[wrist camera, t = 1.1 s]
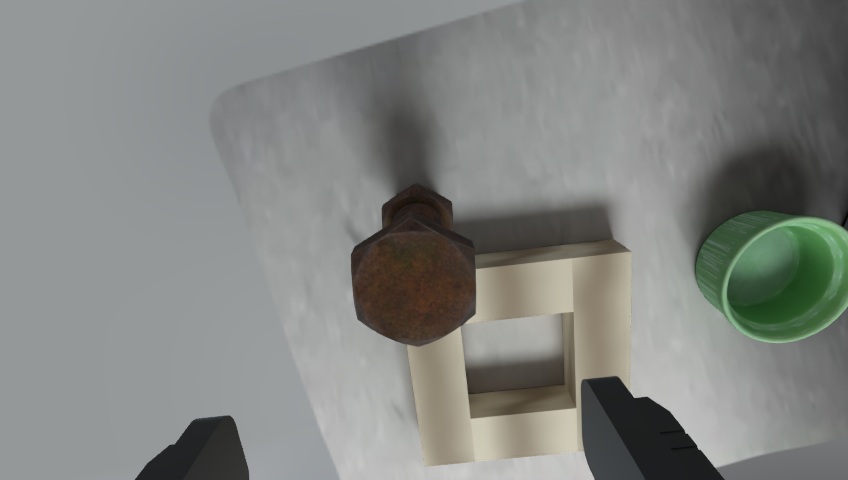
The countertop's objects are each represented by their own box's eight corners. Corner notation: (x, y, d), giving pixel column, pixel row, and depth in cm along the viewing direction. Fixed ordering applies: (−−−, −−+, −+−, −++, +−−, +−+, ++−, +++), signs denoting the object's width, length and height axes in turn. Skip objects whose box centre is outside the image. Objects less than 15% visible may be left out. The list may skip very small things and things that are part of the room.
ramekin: (825, 278, 34) (880, 302, 30) (713, 335, 36) (752, 365, 32) (784, 179, 32) (837, 190, 28) (667, 243, 34) (701, 263, 29)
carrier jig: (613, 239, 33) (631, 251, 30) (614, 420, 38) (629, 446, 35) (399, 263, 34) (396, 278, 31) (424, 439, 38) (424, 466, 36)
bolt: (381, 170, 32) (345, 222, 18) (452, 166, 32) (474, 216, 17) (387, 248, 34) (359, 354, 19) (454, 245, 34) (477, 349, 19)
